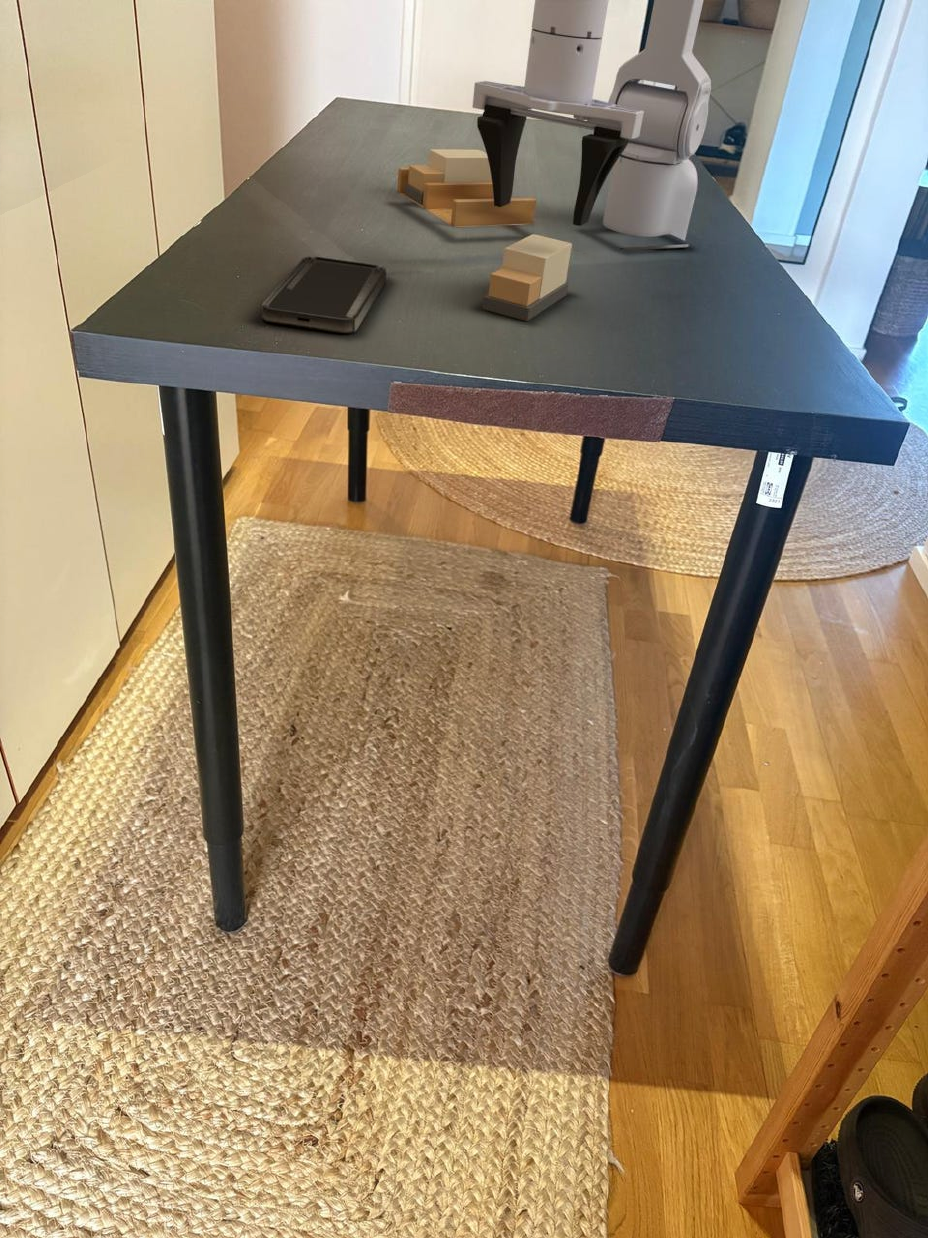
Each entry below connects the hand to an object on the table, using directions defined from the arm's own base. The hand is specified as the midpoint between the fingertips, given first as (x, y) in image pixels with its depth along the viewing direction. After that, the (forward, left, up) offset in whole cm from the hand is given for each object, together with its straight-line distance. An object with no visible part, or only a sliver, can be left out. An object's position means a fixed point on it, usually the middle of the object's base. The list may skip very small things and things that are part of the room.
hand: (540, 213), depth 81 cm
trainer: (+1, +1, -7) cm, 8 cm away
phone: (+19, -3, -8) cm, 21 cm away
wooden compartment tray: (-6, -25, -7) cm, 27 cm away
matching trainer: (-6, -28, -6) cm, 29 cm away
